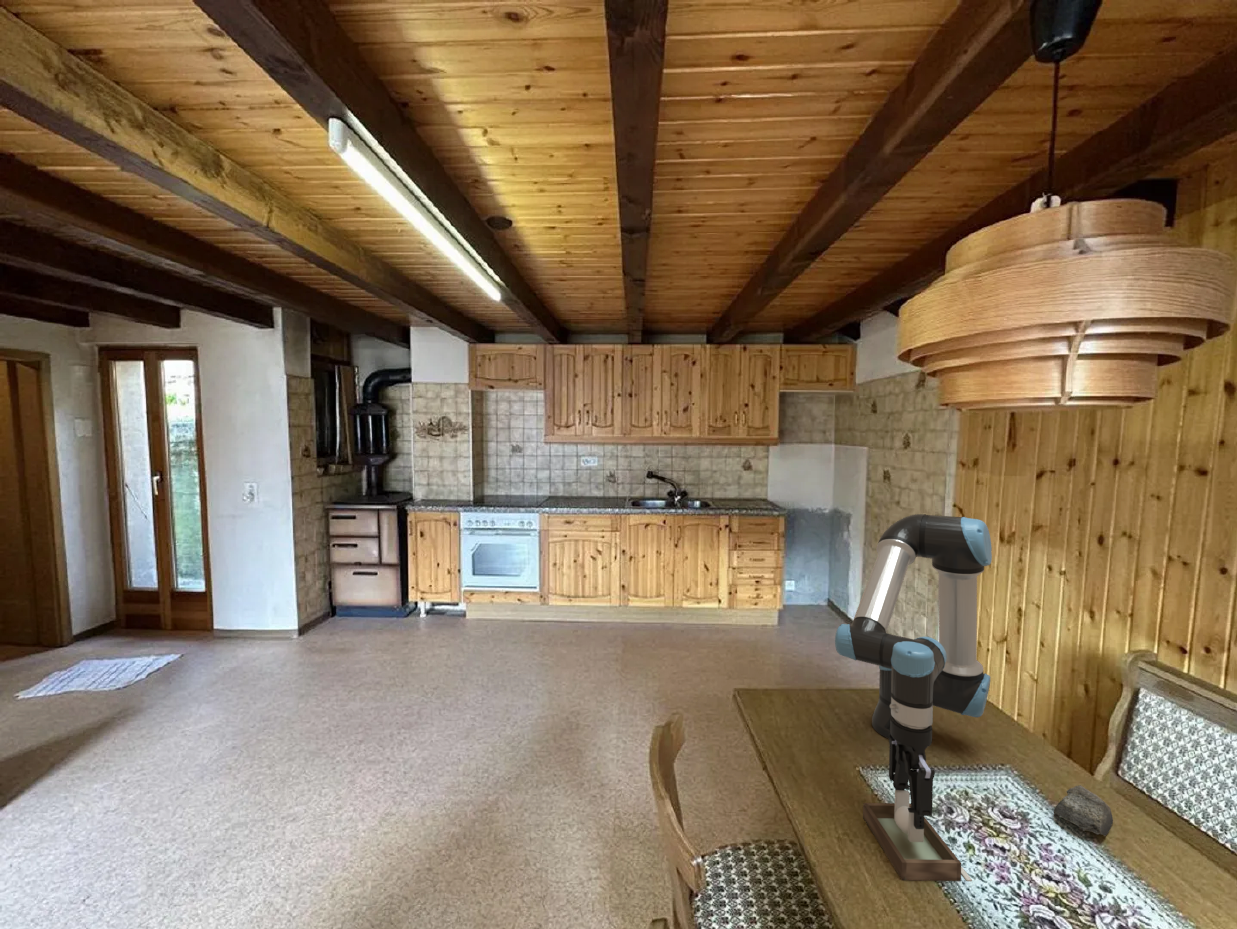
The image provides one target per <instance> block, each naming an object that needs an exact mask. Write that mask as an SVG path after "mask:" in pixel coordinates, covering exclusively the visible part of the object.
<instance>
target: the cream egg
mask: <svg viewBox="0 0 1237 929" xmlns="http://www.w3.org/2000/svg"><path fill="white" fill-rule="evenodd" d="M908 808H910V807H907V806H902V807H900V808H898V810H897V811H896V813H895V821H896V824H897V825H898V827H899V828H900V829H901V830H902V831H903V832H904V833H906V834H908V817H909V811H908Z"/></svg>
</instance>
